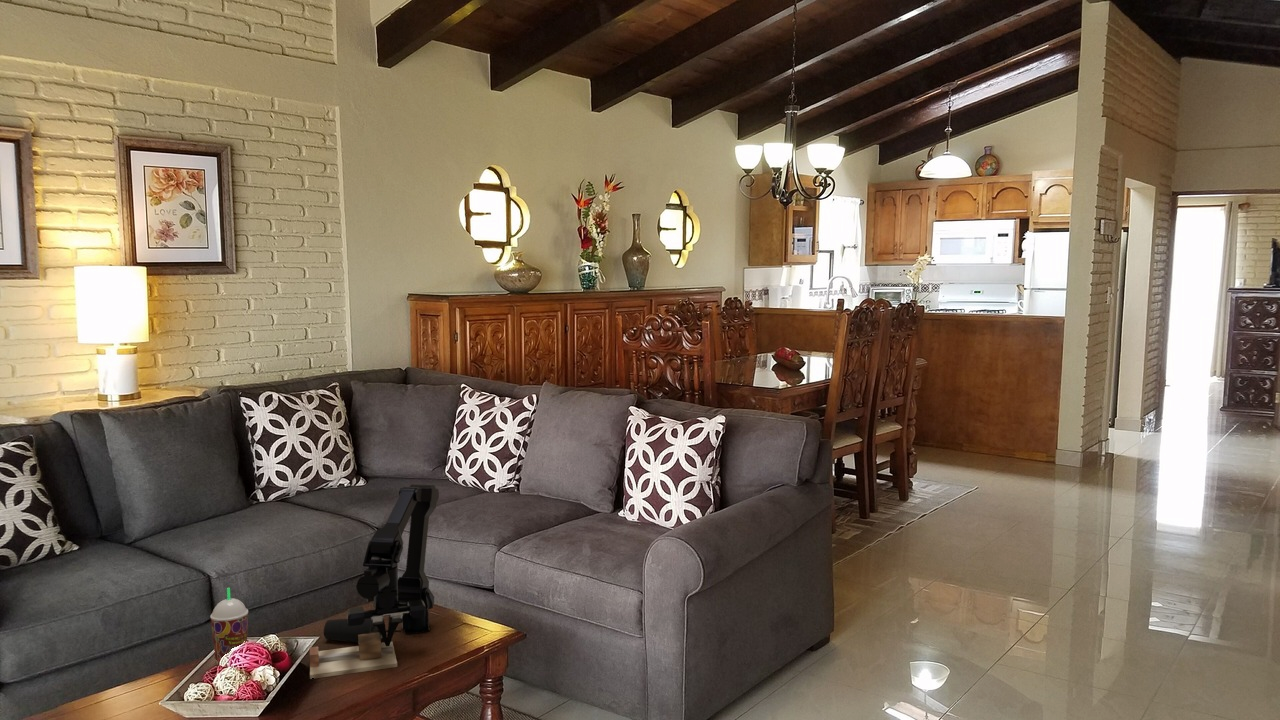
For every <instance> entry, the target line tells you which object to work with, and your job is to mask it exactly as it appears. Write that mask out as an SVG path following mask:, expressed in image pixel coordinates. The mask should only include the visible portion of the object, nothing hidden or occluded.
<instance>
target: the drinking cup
mask: <svg viewBox="0 0 1280 720" xmlns="http://www.w3.org/2000/svg"><path fill="white" fill-rule="evenodd" d="M377 632H379V634H380V639H381V640H383V637H382V635H381V633H380V631H379V629H378V628H377V626H372V621H371V618H368V619H365V622H364V623H363V624H362V625H356V626H348V621H347V618H338V619H329V620H327V621H326V622H325V624H324V627H323V636H324V639H325V640H332V641H340V642H348V643H356V644H359V638H358V635H361V634H369V633H377ZM386 633H388V629H386ZM394 633H402V629H396V630H395V632H394Z"/></svg>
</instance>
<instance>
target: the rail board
mask: <svg viewBox="0 0 1280 720" xmlns="http://www.w3.org/2000/svg"><path fill="white" fill-rule="evenodd" d="M391 668H398V661H397V656H396V651H395V647H394V642H393V641H391V642H390V645H389V646H387V647H386V645H385V643H384V642H381V657H379V658H371V659H364V660H360V653H359V645H355V646H348V647H347V646H346V647H341V648H333V649H332V648H331V649H326V650H319V646H312V647H309V679H310V680H313V679H312V678H314V679H319V678H320V679H322V678H326V677H334V676H343V675H349V674H355V673H363V672H369V671H370V672H371V671H377V670H384V669H391Z"/></svg>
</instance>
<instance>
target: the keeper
mask: <svg viewBox="0 0 1280 720" xmlns="http://www.w3.org/2000/svg"><path fill="white" fill-rule="evenodd" d="M358 638H359V643H358V646H359V653H360V660H364V659H371V658H379V657H381V643H382V639H380V634H379V632H377V633H369V634H361V635H358Z"/></svg>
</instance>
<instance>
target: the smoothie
mask: <svg viewBox="0 0 1280 720" xmlns="http://www.w3.org/2000/svg"><path fill="white" fill-rule="evenodd" d="M226 592H227V593H226V594H227V595H226V597H227V598H225V599H223V600H221V601H220V602H217V604H216V605H215V606H214V608H213V610H212V613H210V615H209V617H210V624H211V626H210V627H211V634H212V641H213V642H212V643H213V652H214V651H215V652H214V660H215V659H216V660H217V661H218V662H219V661H220V659H221V658H222V657H223V656H224V655H225V654H227V653H229V652H230V651H231V649H232V648H234V647H237V646H239V645H241V644H242V643H243V642H244V641H247V642H248V632H249V631H248V625H249V623H248V622H249V609H248V608H246V606H245V604H244V603H243V602H242V601H241V600H239V599H238V598H234V597H233V598H232V597H231V587H227V588H226Z"/></svg>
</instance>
